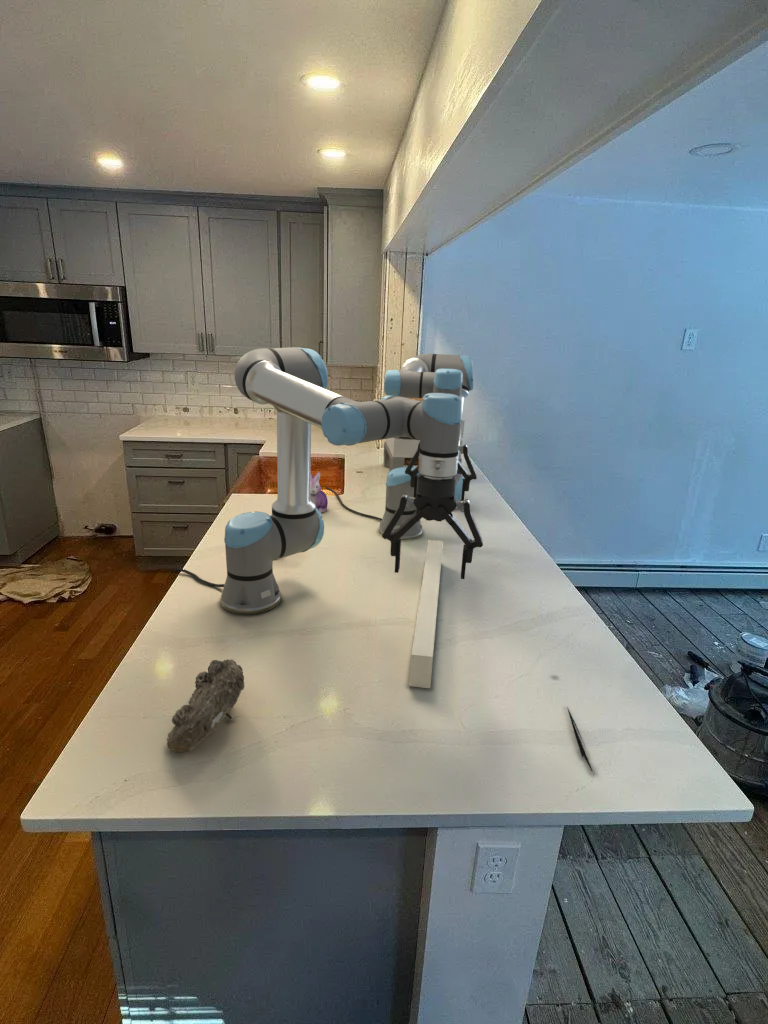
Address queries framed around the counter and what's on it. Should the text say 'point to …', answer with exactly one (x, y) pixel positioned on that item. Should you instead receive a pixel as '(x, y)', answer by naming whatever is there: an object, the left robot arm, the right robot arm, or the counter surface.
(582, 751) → the feather
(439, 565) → the beam
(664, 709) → the counter surface
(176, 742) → the fossil
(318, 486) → the figurine
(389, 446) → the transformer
